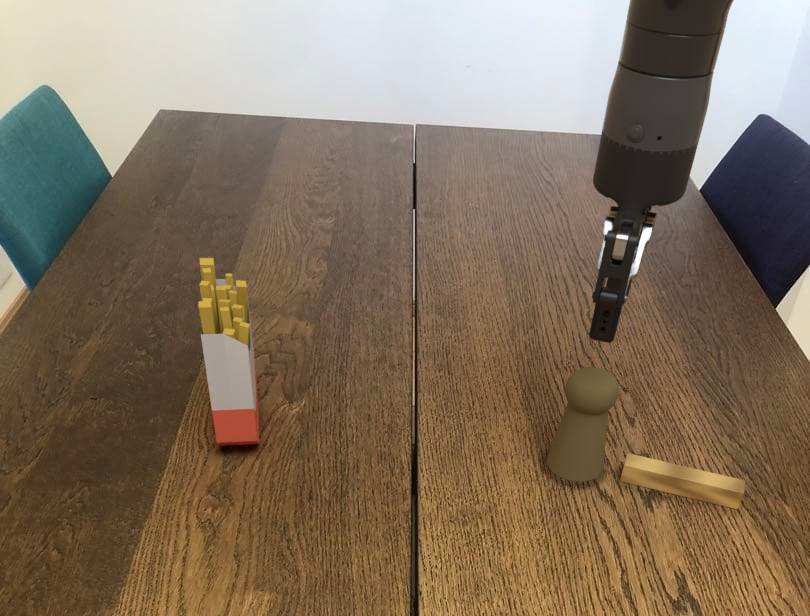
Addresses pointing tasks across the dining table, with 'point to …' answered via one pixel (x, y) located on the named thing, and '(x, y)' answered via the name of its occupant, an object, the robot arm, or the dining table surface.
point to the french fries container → (229, 357)
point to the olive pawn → (583, 425)
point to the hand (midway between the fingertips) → (608, 317)
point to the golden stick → (683, 481)
